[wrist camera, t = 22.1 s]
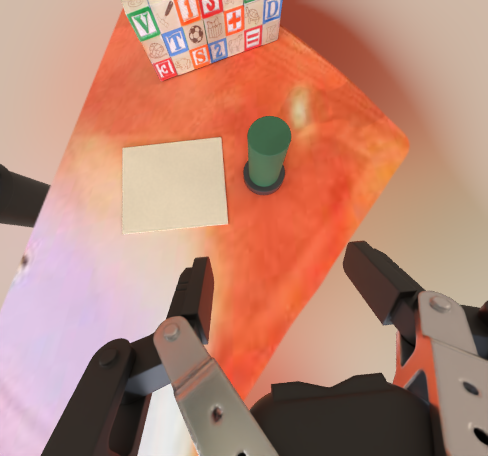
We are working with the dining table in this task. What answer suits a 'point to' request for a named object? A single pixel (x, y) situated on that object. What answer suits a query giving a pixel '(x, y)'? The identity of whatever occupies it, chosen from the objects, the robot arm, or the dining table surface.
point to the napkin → (173, 186)
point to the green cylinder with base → (266, 154)
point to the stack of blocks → (200, 30)
